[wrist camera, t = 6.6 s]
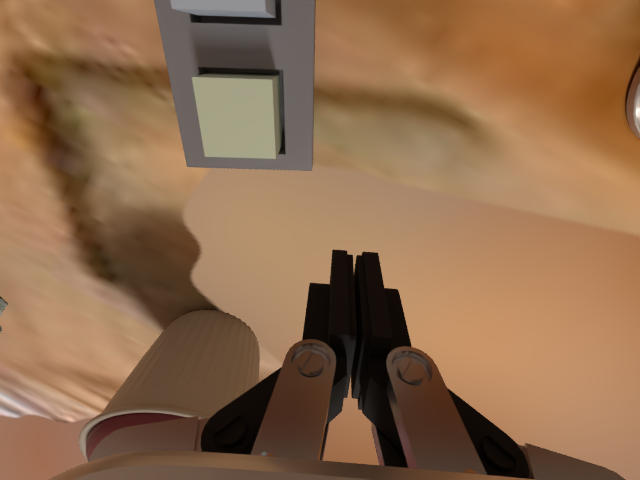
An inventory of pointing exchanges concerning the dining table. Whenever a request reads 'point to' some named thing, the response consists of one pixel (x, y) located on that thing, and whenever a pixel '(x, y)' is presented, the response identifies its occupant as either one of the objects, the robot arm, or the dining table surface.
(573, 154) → the dining table surface
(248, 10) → the button blue
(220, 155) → the button sage
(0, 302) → the rose bouquet
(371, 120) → the dining table surface
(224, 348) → the canister
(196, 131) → the console
